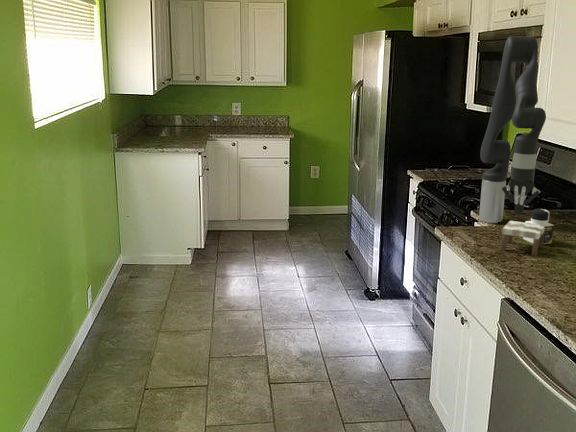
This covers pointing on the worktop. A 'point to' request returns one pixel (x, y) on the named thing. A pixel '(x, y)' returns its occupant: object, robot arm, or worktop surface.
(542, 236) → the footstool
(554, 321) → the worktop surface
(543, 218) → the medicine bottle
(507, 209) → the worktop surface
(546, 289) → the worktop surface
